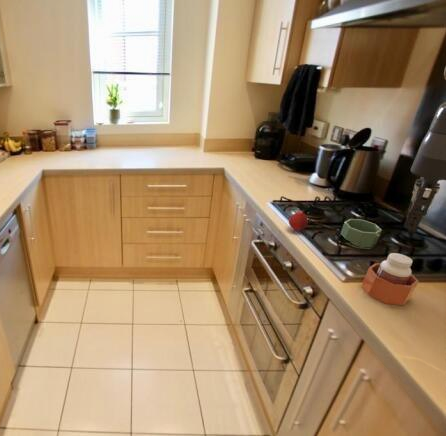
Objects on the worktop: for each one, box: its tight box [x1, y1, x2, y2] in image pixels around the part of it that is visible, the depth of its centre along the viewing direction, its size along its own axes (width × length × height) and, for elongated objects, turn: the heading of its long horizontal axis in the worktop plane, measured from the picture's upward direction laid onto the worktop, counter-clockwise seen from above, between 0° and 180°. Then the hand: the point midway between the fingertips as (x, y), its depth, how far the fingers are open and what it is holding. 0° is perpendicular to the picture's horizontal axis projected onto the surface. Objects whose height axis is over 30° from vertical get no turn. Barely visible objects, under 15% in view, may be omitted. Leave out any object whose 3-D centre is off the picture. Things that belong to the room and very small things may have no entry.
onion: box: [288, 210, 309, 232], centre depth 112 cm, size 6×6×8 cm
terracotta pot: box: [361, 262, 420, 306], centre depth 83 cm, size 9×9×6 cm
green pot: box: [339, 218, 383, 250], centre depth 105 cm, size 9×9×6 cm
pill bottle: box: [376, 252, 413, 285], centre depth 81 cm, size 6×6×11 cm
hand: (410, 221), depth 74 cm, fingers open, 8 cm apart
